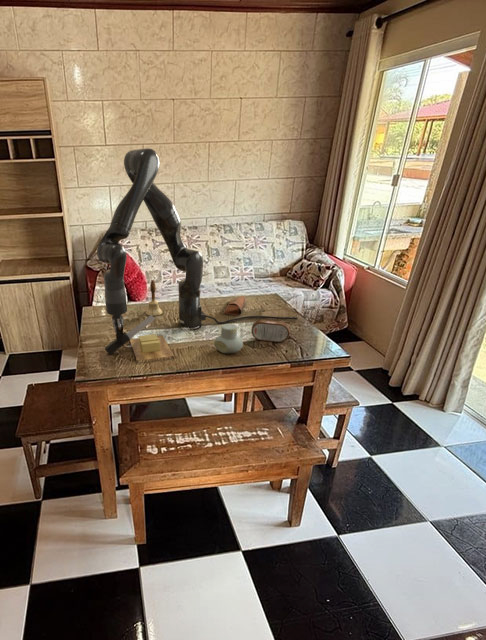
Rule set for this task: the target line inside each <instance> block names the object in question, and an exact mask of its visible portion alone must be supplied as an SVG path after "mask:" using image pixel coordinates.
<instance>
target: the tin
mask: <svg viewBox="0 0 486 640" xmlns="http://www.w3.org/2000/svg"><path fill="white" fill-rule="evenodd" d="M290 334H291V328H290V325H289V324H288V323H286V322H285V321H280V320H271V319H258V320H256V321H254V323H253V324H252V326H251V335H252V336H253V338H254V339H255V340H258V341H264V342H271V343H272V342H273V343H284V342H285V341H287V340H288V339H289V337H290Z"/></svg>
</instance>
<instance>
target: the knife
mask: <svg viewBox="0 0 486 640" xmlns="http://www.w3.org/2000/svg"><path fill="white" fill-rule="evenodd" d="M155 320H156V318H155V316H152V315H150V316H149V315H148V316H147V317H146V318H145V319H143V320H142V321H141V322H139V324H137V325H136V326H135V327H133V328H132V329H130V330H129V331H128V332H126V331H123V336H122V337H123V345H117V338H116V337H115V338H114V339H113V340H112V341H111V342H110V343H108V344H107V345H105V346H104V351H105V352H106V353H107V354H108V355H109V356H111V355H113V354H115V352H116V351H118V350H119V349H120V348H122V347H123V346H124V345H125V344H127V343H128V342H130V340H131V339H133V337H134V336H136V335H138V333H140V332H141V331H142V330H143V329H145V328H146V327H147V326H148V325H150V324H152V322H154V321H155Z"/></svg>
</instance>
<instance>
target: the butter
mask: <svg viewBox="0 0 486 640" xmlns="http://www.w3.org/2000/svg"><path fill="white" fill-rule="evenodd" d="M157 336H158V335H157V334H155V333H153V334H147V335H146V334H145V335H139V336H138V338H139V345H140V348H141V342H150V341H158V338H157Z"/></svg>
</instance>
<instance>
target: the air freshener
mask: <svg viewBox="0 0 486 640" xmlns="http://www.w3.org/2000/svg"><path fill="white" fill-rule="evenodd" d="M220 331H221V333H220V335H218V336H217V337H216V338H215V339H214V347H215V349H216V350H217V351H219V352H221V353H222V354H235V353H238V352H240V351H241V350H242V348H243V346H244V340H243V339H242V337H240V336H239V335H238V326H237V325H236V324H234V323H224V324H222V325H221V330H220Z"/></svg>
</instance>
